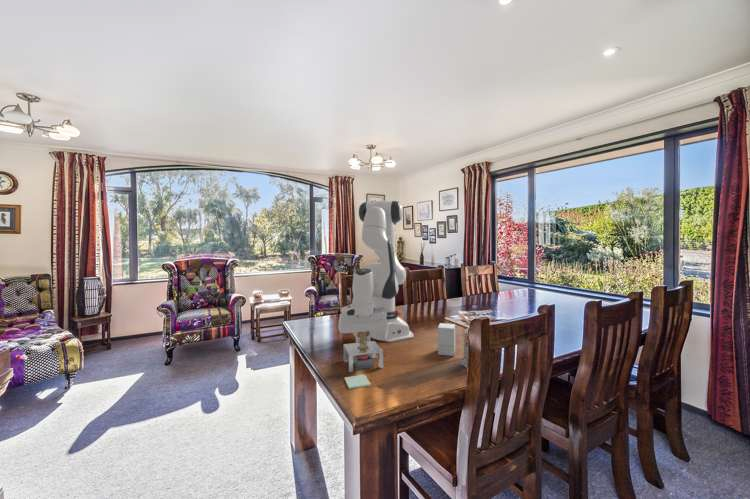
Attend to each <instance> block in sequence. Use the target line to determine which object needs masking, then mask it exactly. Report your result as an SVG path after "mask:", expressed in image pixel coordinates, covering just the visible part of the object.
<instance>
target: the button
mask: <svg viewBox="0 0 750 499" xmlns="http://www.w3.org/2000/svg"><path fill="white" fill-rule="evenodd" d="M358 359H359V360H364V359H369V354H366V355H358Z"/></svg>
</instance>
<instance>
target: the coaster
mask: <svg viewBox="0 0 750 499" xmlns="http://www.w3.org/2000/svg"><path fill="white" fill-rule="evenodd" d="M344 380H345V384H346V385H347V388H348V390H351V389H357V388H358V389H359V388H364V387H365V388H366V387H371V385H372V384H371V382H370V380H369V379H368V377H367V376H366V374H361V375H359V374H358V375H352V376H346V377H344Z"/></svg>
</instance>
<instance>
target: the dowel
mask: <svg viewBox="0 0 750 499" xmlns="http://www.w3.org/2000/svg"><path fill="white" fill-rule="evenodd" d="M367 332H368V331H366V332H359V338H360V342H359V343H360V348H359V351H361V350H368V348H367V336H368V335H367V334H368V333H367ZM364 355H366V354H364Z"/></svg>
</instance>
